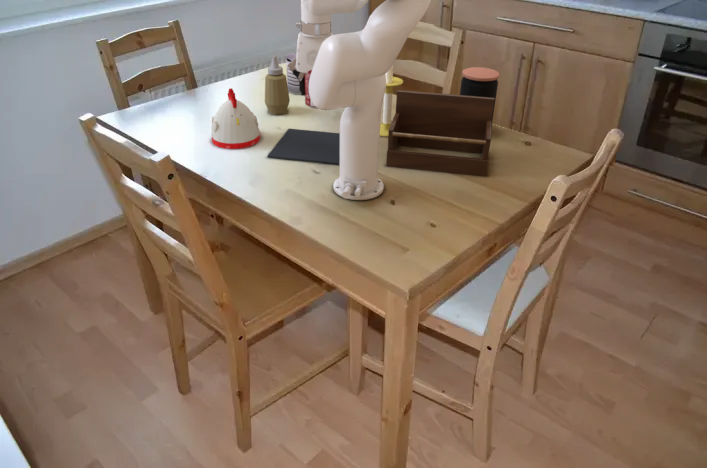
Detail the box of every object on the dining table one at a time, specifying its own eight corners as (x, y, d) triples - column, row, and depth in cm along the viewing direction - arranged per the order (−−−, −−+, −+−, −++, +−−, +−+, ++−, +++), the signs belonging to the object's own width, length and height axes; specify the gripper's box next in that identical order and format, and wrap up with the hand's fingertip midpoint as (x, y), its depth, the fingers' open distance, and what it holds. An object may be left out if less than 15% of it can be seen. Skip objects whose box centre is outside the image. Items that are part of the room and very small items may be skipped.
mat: (352, 166, 157) (352, 164, 157) (267, 157, 161) (267, 155, 161) (366, 137, 174) (366, 135, 173) (288, 130, 178) (288, 128, 177)
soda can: (326, 111, 158) (326, 67, 151) (302, 108, 159) (301, 64, 152) (332, 102, 163) (332, 59, 157) (308, 100, 164) (307, 57, 158)
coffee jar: (497, 130, 180) (506, 72, 170) (478, 140, 173) (486, 80, 163) (468, 121, 186) (475, 64, 176) (448, 130, 179) (455, 72, 169)
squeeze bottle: (295, 110, 192) (292, 55, 182) (279, 118, 186) (276, 61, 176) (276, 105, 195) (272, 51, 186) (260, 113, 189) (255, 57, 180)
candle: (408, 134, 176) (415, 22, 159) (377, 138, 173) (381, 25, 156) (395, 122, 184) (400, 14, 167) (365, 126, 181) (368, 17, 164)
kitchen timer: (217, 151, 164) (210, 100, 156) (208, 133, 175) (201, 84, 167) (265, 144, 168) (261, 94, 160) (253, 127, 179) (249, 79, 171)
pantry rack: (485, 176, 153) (494, 118, 145) (386, 166, 158) (388, 109, 149) (486, 152, 166) (494, 97, 157) (394, 143, 170) (397, 90, 162)
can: (290, 83, 214) (288, 50, 208) (321, 85, 214) (320, 52, 207) (284, 94, 205) (282, 60, 198) (316, 95, 204) (315, 61, 198)
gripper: (279, 29, 148) (282, 97, 158) (346, 34, 145) (345, 103, 155) (288, 22, 154) (290, 88, 164) (352, 26, 151) (351, 93, 161)
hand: (317, 94), depth 159 cm, fingers closed on soda can, 6 cm apart
